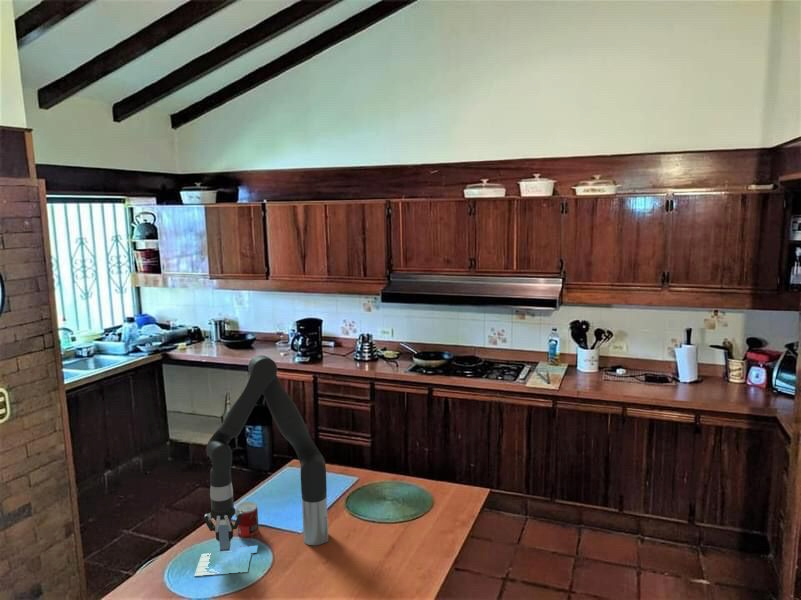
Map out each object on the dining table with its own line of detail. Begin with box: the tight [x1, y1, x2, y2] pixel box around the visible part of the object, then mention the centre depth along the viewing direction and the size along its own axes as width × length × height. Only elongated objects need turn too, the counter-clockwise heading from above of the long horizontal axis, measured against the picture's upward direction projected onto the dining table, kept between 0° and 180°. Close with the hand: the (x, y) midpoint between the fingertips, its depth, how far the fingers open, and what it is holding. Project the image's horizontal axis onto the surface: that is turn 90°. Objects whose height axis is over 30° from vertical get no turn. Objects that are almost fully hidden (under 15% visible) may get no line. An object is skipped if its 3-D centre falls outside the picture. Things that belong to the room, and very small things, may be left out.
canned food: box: [235, 501, 260, 539], centre depth 232 cm, size 8×8×11 cm
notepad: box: [193, 552, 219, 578], centre depth 213 cm, size 18×13×1 cm
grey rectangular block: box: [218, 519, 232, 552], centre depth 214 cm, size 3×3×12 cm
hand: (224, 539), depth 214 cm, fingers closed on grey rectangular block, 3 cm apart
